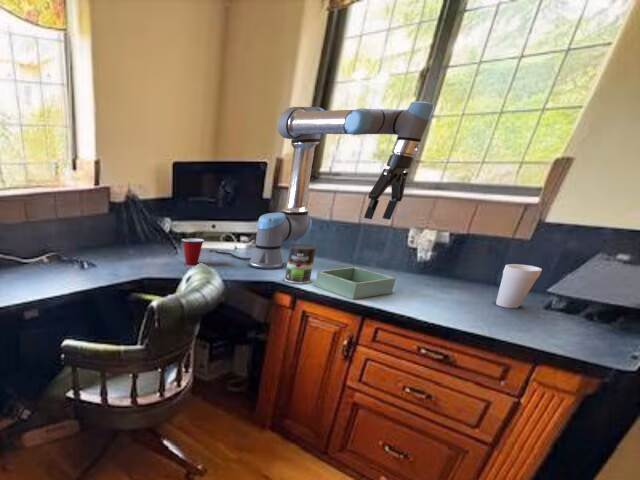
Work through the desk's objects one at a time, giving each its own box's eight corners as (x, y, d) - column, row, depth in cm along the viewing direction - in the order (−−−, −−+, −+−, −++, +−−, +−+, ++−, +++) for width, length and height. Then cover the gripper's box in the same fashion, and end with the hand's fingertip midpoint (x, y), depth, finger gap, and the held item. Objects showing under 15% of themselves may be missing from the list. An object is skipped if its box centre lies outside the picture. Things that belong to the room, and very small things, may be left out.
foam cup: (514, 311, 140) (531, 272, 134) (484, 303, 148) (499, 266, 142) (530, 306, 144) (548, 268, 137) (500, 299, 151) (515, 263, 145)
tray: (314, 285, 172) (317, 271, 169) (351, 280, 177) (354, 266, 174) (352, 299, 155) (356, 283, 152) (391, 293, 161) (396, 278, 158)
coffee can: (308, 285, 173) (314, 249, 166) (282, 282, 177) (287, 248, 170) (311, 278, 181) (317, 245, 174) (286, 276, 185) (291, 243, 178)
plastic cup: (206, 262, 212) (207, 237, 206) (197, 267, 204) (198, 241, 198) (186, 260, 217) (187, 236, 211) (177, 264, 209) (178, 239, 203)
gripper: (395, 152, 138) (369, 220, 149) (429, 159, 151) (402, 221, 162) (374, 150, 143) (350, 216, 154) (408, 157, 156) (384, 217, 167)
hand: (377, 218), depth 158 cm, fingers open, 13 cm apart
